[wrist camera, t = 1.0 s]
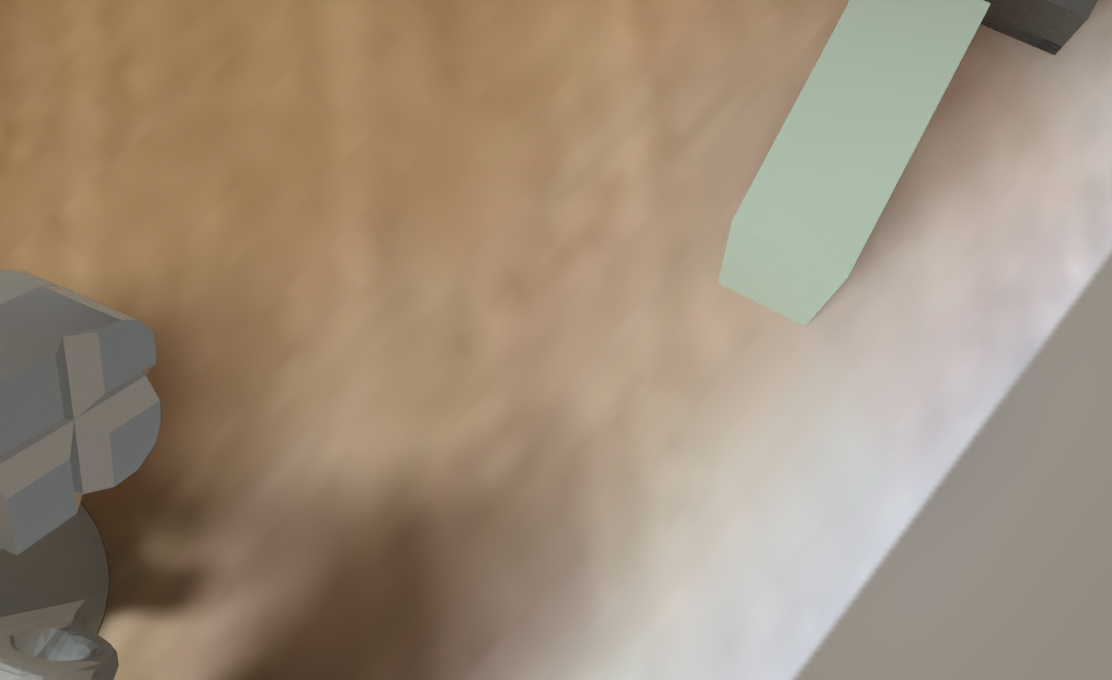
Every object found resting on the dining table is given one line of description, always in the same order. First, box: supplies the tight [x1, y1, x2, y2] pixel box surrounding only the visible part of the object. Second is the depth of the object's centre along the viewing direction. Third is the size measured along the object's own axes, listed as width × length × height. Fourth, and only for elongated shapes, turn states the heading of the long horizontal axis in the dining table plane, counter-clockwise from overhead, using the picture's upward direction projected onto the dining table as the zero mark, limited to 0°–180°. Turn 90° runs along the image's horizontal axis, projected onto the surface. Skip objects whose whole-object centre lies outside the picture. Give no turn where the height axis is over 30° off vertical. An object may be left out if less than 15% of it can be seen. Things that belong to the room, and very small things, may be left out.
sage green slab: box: [718, 0, 991, 326], centre depth 36 cm, size 4×10×10 cm, turn 151°
